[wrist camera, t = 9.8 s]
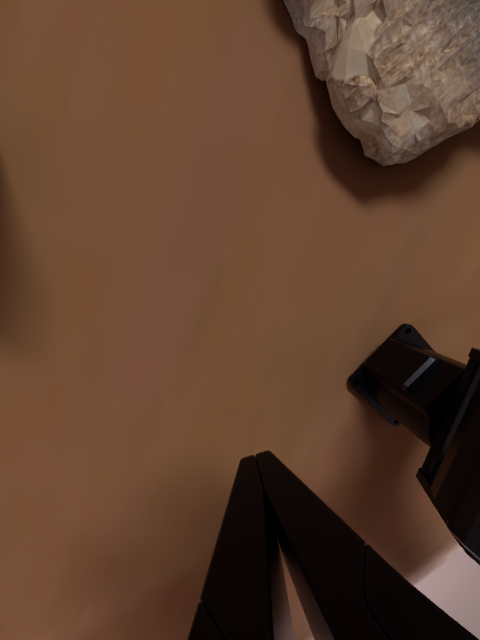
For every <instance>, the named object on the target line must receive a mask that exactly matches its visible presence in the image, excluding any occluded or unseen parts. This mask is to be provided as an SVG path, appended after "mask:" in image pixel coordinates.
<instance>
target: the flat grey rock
mask: <svg viewBox="0 0 480 640" xmlns="http://www.w3.org/2000/svg"><path fill="white" fill-rule="evenodd" d="M284 3H285V5H286V7H287V9H288V12H289V13H290V15H291V18H292V21H293V24H294V28H295V30H296V32H297V33H298V34H299V35H301V36H302V37H304V38H305V39H306V41H307V44H308V49H309V53H310V58H311V63H312V66H313V70H314V73H315V76H316V77H317V78H318V79H320V80H322V81H325V80H326V84H327V88H328V92H329V96H330V100H331V104H332V108H333V109H334V111H335V113H336V114H337V116H338V118H339V119H340V121H341V123H342V124H343V126H344V127H345V128H346V129H347V130H348V131H349V132H350V133H351V134H352V135H353V136H354V137H355V138H357V139H360V142H361V144H362V146H363V151H364V155H365V156H367V157H369V158H371V159H373V160H375V161H376V162H378V163H379V164H380V165H382V166H387V165H393V164H403V163H407V162H408V161H410V160H412V159H414V158H416V157H418V156H419V155H421V154H422V153H424V152H425V151H427V150H429V149H430V148H432V147H434V146H436V145H438V144H439V143H441V142H442V141H444V140H445V139H446V138H449V137H451V136H453V135H456V134H458V133H460V132H463V131H465V130H467V129H469V128H471V127H472V126H473V125H474V124H476V123H477V122H478V121H480V0H284Z"/></svg>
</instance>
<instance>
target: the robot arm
mask: <svg viewBox="0 0 480 640" xmlns="http://www.w3.org/2000/svg"><path fill="white" fill-rule="evenodd" d="M406 329H407V331H406V332H405V330H406ZM468 356H469V357H470V358H469V361H468V363H467V365H466V364H463V363H461V362H459V361H456V360H454V359H451V358H449V357H446V356H444V355H441V354H439V353H436V352H435V351H434V350H433V349H432V348H431V347H430V345H429V344H428V343H427V342H426V341H425V340H424V338H423V337H422V336H421V335H420V334H419V333H418V332H417V330H416V329H415V328H414V327H413V326H412V325H410V324H402V325H401V326H400V327H399V328H398V329H397V330H396V331H395V332H394V333H393V334H392V335H391V336H390V337H389V338H388V339H387V340H386V341H385V342H384V343H383V344H382V345H381V346H380V347H379V348H378V349H377V350H376V351H375V352H374V353H373V354H372V355H371V356H370V357H369V358H368V359H367V360H366V361H365V362H364V363H363V364H362V365H361V366H360V367H359V368H358V369H357V370H356V371H355V372H354V373H353V374H352V375H351V376H350V378H349V380H348V383H349V384H350V385H351V386H352V387H353V388H354V389H355V390H356V391H357V392H358V393H359V394H360V395H361V396H362V397H363V398H364V399H365V400H366V401H367V402H368V403H369V404H371V405H372V406H373V407H374V408H375V409H376V410H377V411H378V412H379V413H380V414H381V415H382V416H383V417H384V418H385V419H386V420H387V421H388V422H389V423H391V424H392V425H393V426H399V425H400V424H402V425H404V426H405V427H406V428H407V429H409V430H410V431H411V432H412V433H413V434H415V435H416V436H417V437H418V438H419V439H421V440H422V441H423V442H424V443H426V444H427V445H428V446H429V447H430V449H429V452H428V454H427V456H426V459H425V461H424V463H423V465H422V468H419V470H418V472H417V474H416V477H417V479H418V481H419V482H420V484H421V485H422V487H423V489H424V490H425V492H426V493H427V495H428V497H429V498H430V500H431V501H432V503H433V505H434V506H435V508H436V509H437V511H438V512H439V514H440V516H441V517H442V519H443V520H444V522H445V524H446V525H447V527H448V529H449V531H450V532H451V533H452V535H453V536H454V538H455V539H456V540H457V542H458V543H459V545H460V546H461V547H462V548H463V549H464V551H465V552H466V553H467V554H468V555H469V556H470V557H471V558H472V559H474V560H475V561H476V562H477V563H478V564H479V565H480V349H476V348H472V349H471V351H470V353H469V355H468ZM355 380H357V381H356V383H354V381H355ZM395 419H396V420H395ZM274 527H275V528H274ZM277 538H278V539H277ZM278 541H279V544H278ZM279 545H280V548H281V551H282V554H283V557H284V560H285V562H286V565H287V568H288V570H289V573H290V576H291V578H292V581H293V584H294V586H295V589H296V592H297V594H298V597H299V599H300V602H301V605H302V607H303V610H304V613H305V615H306V618H307V621H308V623H309V626H310V629H311V631H312V634H313V637H314V639H315V640H479V639H478V638H476V637H475V636H474V635H473V634H471V633H470V632H469V631H468V630H466V629H465V628H464V627H463V626H461V625H460V624H459V623H458V622H456V621H455V620H454V619H453V618H451V617H450V616H449V615H448V614H446V613H445V612H444V611H443V610H442V609H440V608H439V607H438V606H437V605H435V604H434V603H433V602H432V601H431V600H429V599H428V598H427V597H426V596H425V595H424V594H422V593H421V592H420V591H419V590H417V589H416V588H415V587H414V586H413V585H412V584H410V583H409V582H408V581H407V580H406V579H405V578H404V577H403V576H402V575H400V574H399V573H398V572H397V571H396V570H395V569H394V568H393V567H392V566H391V565H389V564H388V563H387V562H386V561H385V560H384V559H383V558H382V557H381V556H380V555H379V554H378V553H377V552H376V551H375V550H374V549H372V548H371V547H370V546H369V545H366V543H365V541H364V540H363V539H362V538H361V537H360V536H359V535H358V534H357V533H355V532H354V531H353V530H352V529H351V528H350V527H349V526H348V525H347V524H346V523H345V522H344V521H343V520H342V519H341V518H340V517H339V516H338V515H337V514H336V513H335V512H333V511H332V510H331V509H330V508H329V507H328V506H327V505H326V504H325V503H324V502H323V501H322V500H321V499H320V498H319V497H318V496H317V495H316V494H315V493H314V492H313V491H311V490H310V489H309V488H308V487H307V486H306V485H305V484H304V483H303V482H302V481H301V480H300V479H299V478H298V477H297V476H296V475H295V474H294V473H293V472H292V471H291V470H289V469H288V468H287V467H286V466H285V465H284V464H283V463H282V462H281V461H280V460H279V459H278V458H277V457H276V456H275V455H274V454H273V453H272V452H271V451H269V450H267V451H264V452H260V453H257V454H256V457H255V456H254V455H251V456H248V457H244V458H242V459H241V460H240V463H239V466H238V470H237V473H236V477H235V480H234V483H233V487H232V490H231V494H230V497H229V501H228V504H227V507H226V511H225V514H224V518H223V521H222V525H221V528H220V531H219V535H218V538H217V542H216V545H215V548H214V552H213V555H212V559H211V562H210V566H209V569H208V572H207V576H206V579H205V583H204V586H203V590H202V593H201V596H200V601H201V602H199V603H198V606H197V610H196V613H195V616H194V620H193V623H192V627H191V630H190V633H189V636H188V640H295V639H294V633H293V627H292V621H291V614H290V608H289V602H288V596H287V589H286V583H285V577H284V571H283V565H282V559H281V553H280V548H279Z"/></svg>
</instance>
